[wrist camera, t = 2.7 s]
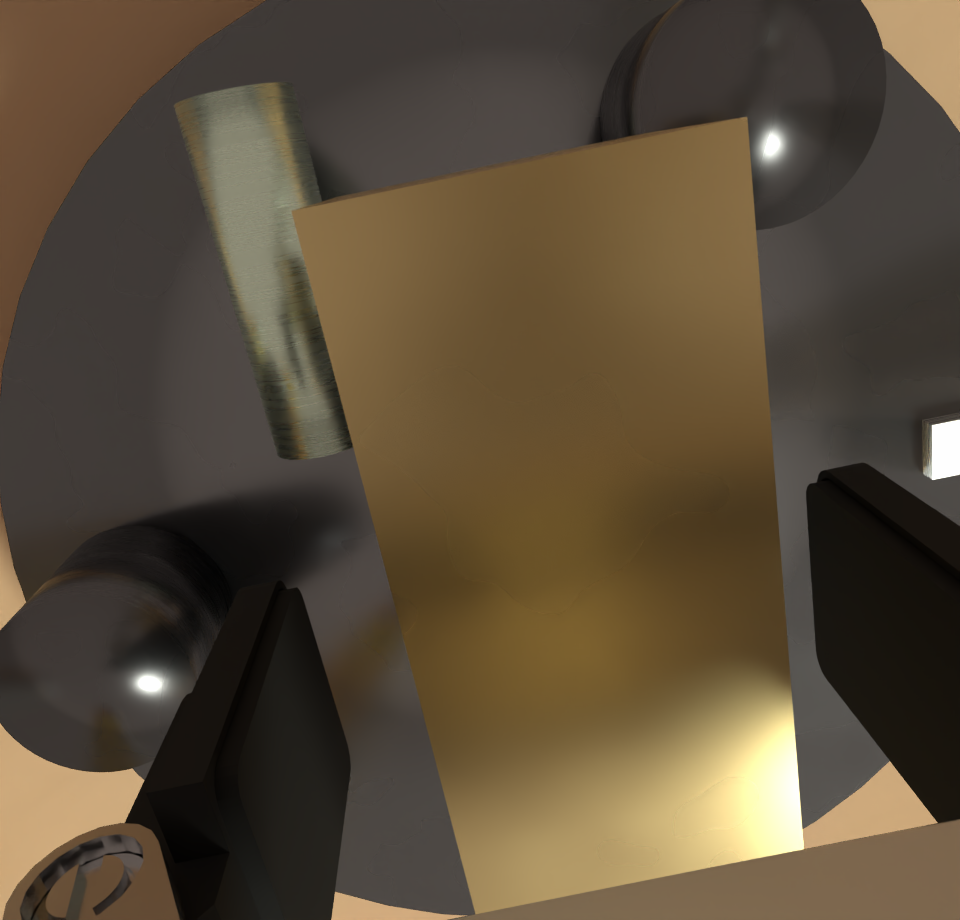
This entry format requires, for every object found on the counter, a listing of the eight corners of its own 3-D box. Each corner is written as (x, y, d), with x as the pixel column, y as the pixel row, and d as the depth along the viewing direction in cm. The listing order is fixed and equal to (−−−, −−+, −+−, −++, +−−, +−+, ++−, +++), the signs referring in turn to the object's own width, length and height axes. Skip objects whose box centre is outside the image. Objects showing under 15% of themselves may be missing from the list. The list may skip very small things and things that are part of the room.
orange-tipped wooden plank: (338, 194, 12) (231, 223, 6) (605, 139, 12) (811, 103, 6) (504, 879, 17) (550, 1335, 10) (699, 841, 17) (872, 1274, 10)
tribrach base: (-118, 86, 13) (-372, 48, 9) (982, -146, 13) (1245, -294, 9) (215, 908, 19) (156, 1115, 15) (971, 759, 19) (1124, 927, 15)
